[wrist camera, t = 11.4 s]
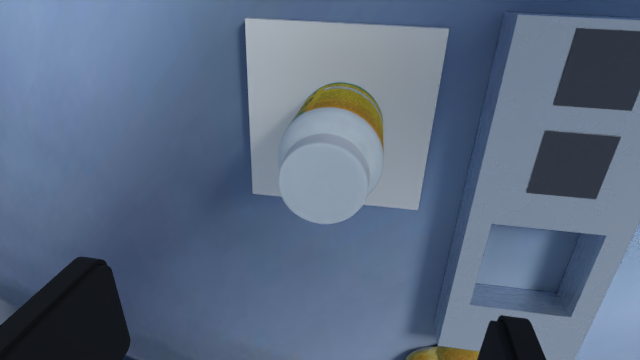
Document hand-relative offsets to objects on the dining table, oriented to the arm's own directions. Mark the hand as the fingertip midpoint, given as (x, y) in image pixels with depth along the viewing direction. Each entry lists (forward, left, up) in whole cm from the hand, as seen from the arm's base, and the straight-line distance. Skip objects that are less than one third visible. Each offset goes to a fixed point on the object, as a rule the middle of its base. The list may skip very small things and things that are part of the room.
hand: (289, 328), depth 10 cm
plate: (0, 0, -19) cm, 19 cm away
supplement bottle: (0, 0, -18) cm, 18 cm away
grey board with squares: (+5, +14, -19) cm, 24 cm away
